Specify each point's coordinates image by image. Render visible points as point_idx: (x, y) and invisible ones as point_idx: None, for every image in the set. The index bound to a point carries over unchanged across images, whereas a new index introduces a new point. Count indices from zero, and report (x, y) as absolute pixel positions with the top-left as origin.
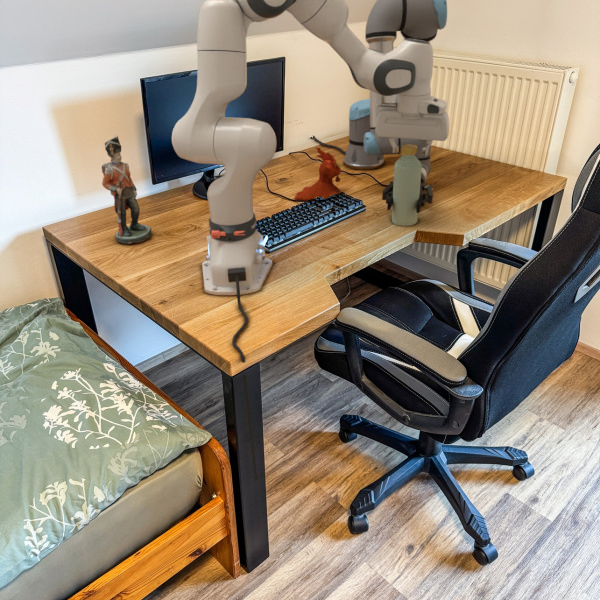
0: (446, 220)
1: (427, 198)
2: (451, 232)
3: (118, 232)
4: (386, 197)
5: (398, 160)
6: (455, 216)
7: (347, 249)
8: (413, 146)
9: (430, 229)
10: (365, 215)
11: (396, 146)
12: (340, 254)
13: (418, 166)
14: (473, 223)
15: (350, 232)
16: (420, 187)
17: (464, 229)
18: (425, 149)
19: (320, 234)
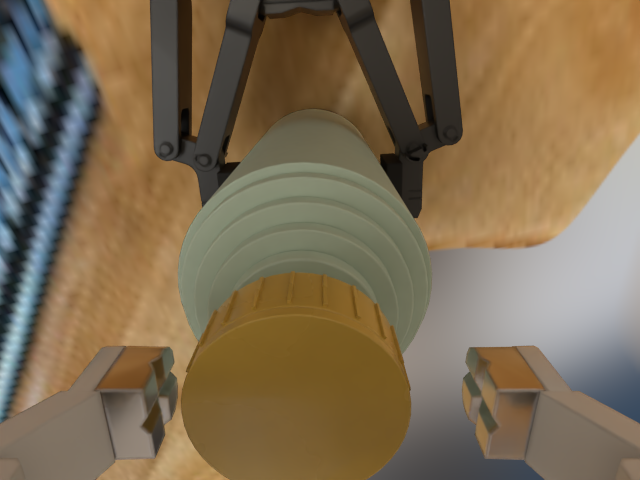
0: (500, 114)
1: (429, 151)
2: (520, 232)
3: None
4: (202, 206)
5: (206, 321)
6: (545, 52)
7: (185, 437)
8: (355, 400)
9: (435, 226)
10: (127, 160)
11: (117, 424)
12: (178, 466)
13: (409, 336)
14: (623, 114)
15: (141, 329)
16: (372, 15)
17: (576, 189)
18: (530, 460)
19: (47, 369)
